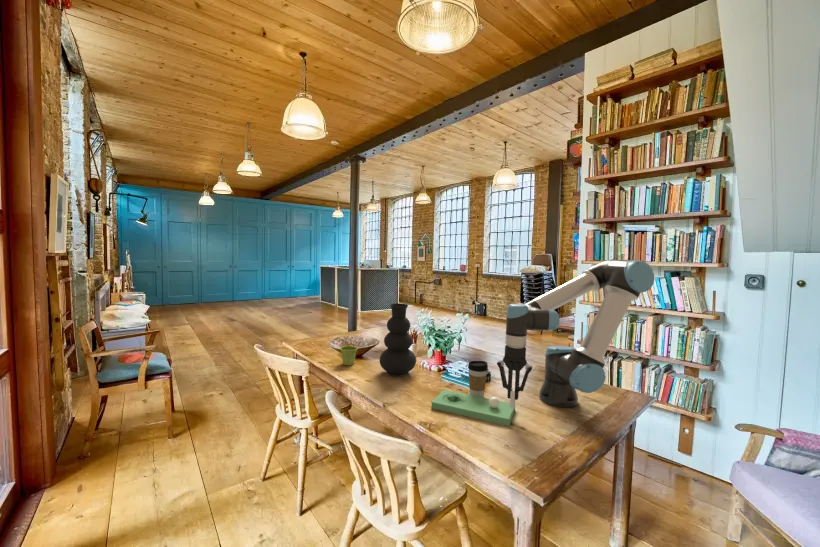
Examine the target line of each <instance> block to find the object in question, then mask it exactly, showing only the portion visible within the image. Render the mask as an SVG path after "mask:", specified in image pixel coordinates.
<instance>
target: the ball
mask: <svg viewBox="0 0 820 547" xmlns="http://www.w3.org/2000/svg"><path fill="white" fill-rule="evenodd" d="M488 399H489V405H490V406H491V407H492V408H497V407H498V406H499V401H500V400H499V398H498V397H495V396H491V397H490V398H488Z"/></svg>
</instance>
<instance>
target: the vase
mask: <svg viewBox="0 0 820 547" xmlns="http://www.w3.org/2000/svg"><path fill="white" fill-rule="evenodd" d="M389 306H390V308H391V316H390V317H389V318H388V320H387V322H386V328H387V330H388V331H389V332H388V333H386V335H384V339H383V343H384V346H385V347H386V349H385V350H383V351H382V352H381V354H380V356H379V365H380V367H381V368H382V369H383V371H385V372H386V374H387V375H388V376H392V377H403V376H404V377H405V376H407V375H408V374H409V373H410V371H412V370H413V369H414V367H415V366H416V362H417V357H416V355H415V353H414V352H413V351H412V350H411V349H410V348H411V346H412V345H413V341H414V340H413V338H412V335H411V334H410V333H409V331H410V329H411V322H410V319H408V317H407V308H408V307H409V304H407V303H396V302H395V303H390V304H389Z"/></svg>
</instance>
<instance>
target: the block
mask: <svg viewBox="0 0 820 547" xmlns="http://www.w3.org/2000/svg"><path fill="white" fill-rule="evenodd" d="M489 399H490V398H486V397H484V398H482V397H478V396H473V395H470V394H467V393H462V392H457V391H452V390H448V389H443V390H442V391H441V392H440V393H439V394H437V396H436V397H435V398H434V399H433V400H432V401H431V409H434V410H436V411H437V410H438V411H442V412H446V413H450V414H455V415H459V416H463V417H464V416H465V417H467V418H468V417H469V418H472V419H477V420H482V421H485V422H490V423H495V424H499V425H502V426H507V427H509V426H510V425H511V422H512V420H513V417H514V414H515V411H516V406H515V407H514V409H511V408H510V402H506V401H501V400H499V406H498V407H497V408H492V407H491V406H490V405H489Z"/></svg>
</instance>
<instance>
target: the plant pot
mask: <svg viewBox="0 0 820 547" xmlns="http://www.w3.org/2000/svg"><path fill="white" fill-rule="evenodd" d="M358 349H359V348H358V346H355V345H345V346H344V345H343V346H341V347H339V350H340V353H341V359H342V360H341V361H342V364H343V365H345V366H353V365H354V364H355V361H356V356H357V351H358Z"/></svg>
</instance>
